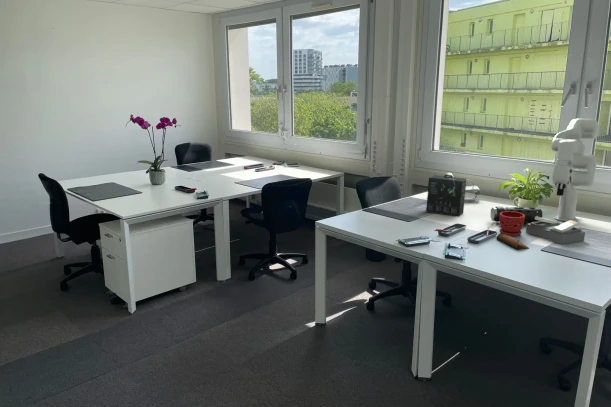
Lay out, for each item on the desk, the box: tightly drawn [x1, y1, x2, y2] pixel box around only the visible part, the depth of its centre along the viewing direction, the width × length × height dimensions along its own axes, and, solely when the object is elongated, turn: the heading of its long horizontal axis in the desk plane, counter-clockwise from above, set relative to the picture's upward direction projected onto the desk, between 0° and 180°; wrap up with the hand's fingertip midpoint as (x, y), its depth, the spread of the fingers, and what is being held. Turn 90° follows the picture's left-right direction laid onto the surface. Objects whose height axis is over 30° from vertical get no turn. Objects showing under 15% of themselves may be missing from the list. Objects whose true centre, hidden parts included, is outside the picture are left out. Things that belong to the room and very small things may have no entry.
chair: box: [445, 172, 482, 203], centre depth 339 cm, size 13×25×20 cm, turn 75°
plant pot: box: [498, 211, 525, 237], centre depth 257 cm, size 13×13×12 cm
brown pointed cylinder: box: [496, 233, 530, 251], centre depth 241 cm, size 18×7×7 cm
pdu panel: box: [525, 221, 586, 246], centre depth 255 cm, size 16×28×6 cm, turn 21°
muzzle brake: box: [490, 206, 543, 224], centre depth 279 cm, size 10×28×10 cm, turn 85°
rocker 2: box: [554, 220, 579, 232], centre depth 246 cm, size 12×5×2 cm, turn 111°
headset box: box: [425, 173, 467, 218], centre depth 302 cm, size 22×12×26 cm, turn 58°
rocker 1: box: [535, 216, 558, 224], centre depth 258 cm, size 12×5×2 cm, turn 112°
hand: (559, 195), depth 254 cm, fingers closed
